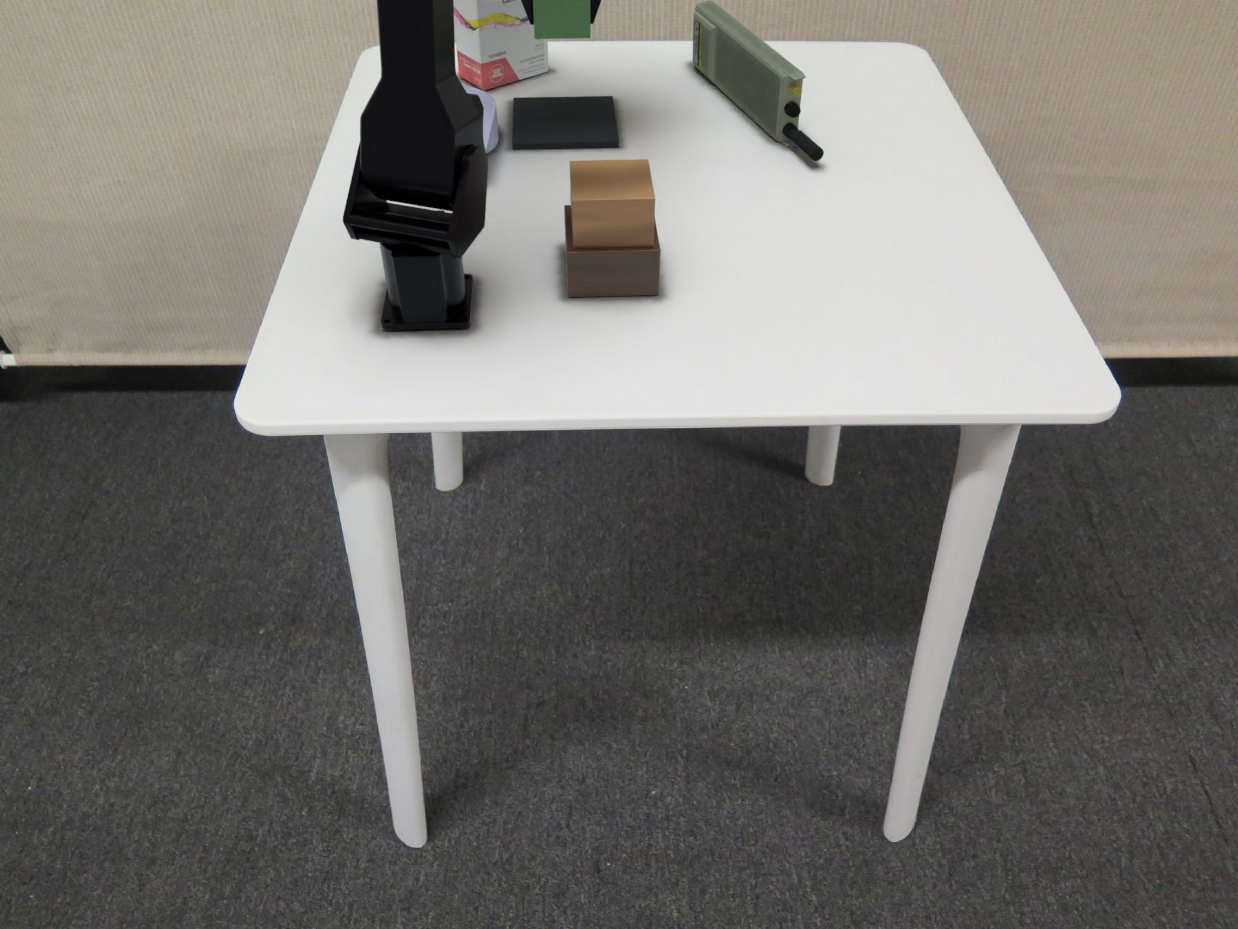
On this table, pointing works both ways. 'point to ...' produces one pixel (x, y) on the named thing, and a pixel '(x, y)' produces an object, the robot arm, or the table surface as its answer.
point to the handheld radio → (751, 75)
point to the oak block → (612, 203)
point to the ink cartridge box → (496, 43)
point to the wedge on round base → (487, 118)
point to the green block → (561, 19)
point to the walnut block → (611, 268)
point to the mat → (564, 122)
